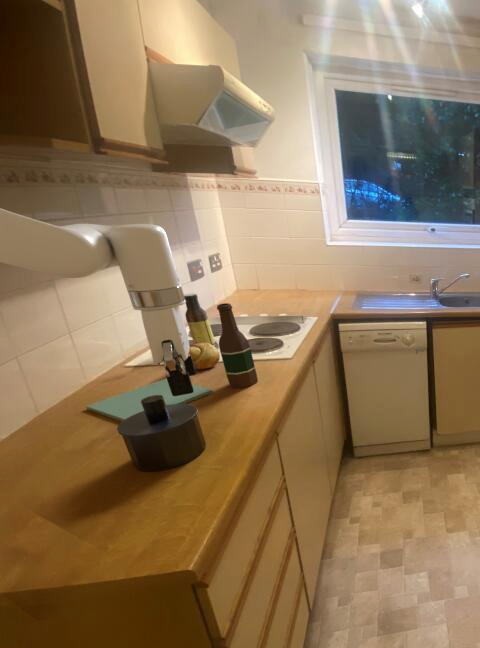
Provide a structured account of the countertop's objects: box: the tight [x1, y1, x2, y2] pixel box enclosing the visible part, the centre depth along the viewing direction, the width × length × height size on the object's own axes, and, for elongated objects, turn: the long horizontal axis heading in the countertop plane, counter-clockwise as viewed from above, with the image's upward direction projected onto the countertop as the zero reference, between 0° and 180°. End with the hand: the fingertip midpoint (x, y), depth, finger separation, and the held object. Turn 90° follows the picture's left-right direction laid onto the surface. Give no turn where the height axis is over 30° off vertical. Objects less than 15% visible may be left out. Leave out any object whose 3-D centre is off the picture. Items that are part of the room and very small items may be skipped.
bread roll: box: [189, 343, 221, 371], centre depth 141 cm, size 13×10×8 cm
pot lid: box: [116, 395, 199, 437], centre depth 90 cm, size 13×13×6 cm
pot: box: [121, 414, 207, 473], centre depth 93 cm, size 13×13×8 cm
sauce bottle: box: [184, 292, 217, 347], centre depth 152 cm, size 6×6×20 cm
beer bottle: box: [216, 302, 259, 389], centre depth 124 cm, size 8×8×24 cm
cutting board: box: [85, 377, 214, 422], centre depth 118 cm, size 20×20×1 cm
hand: (185, 384), depth 83 cm, fingers open, 9 cm apart
